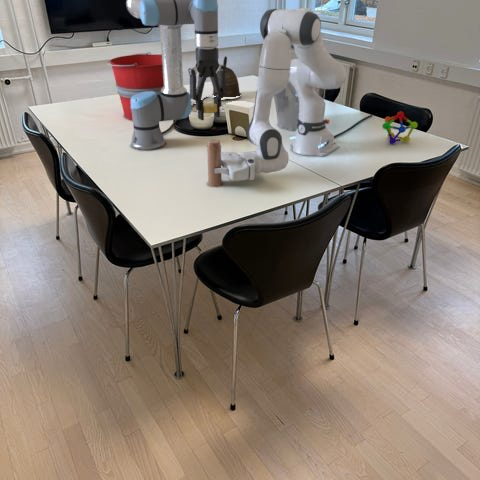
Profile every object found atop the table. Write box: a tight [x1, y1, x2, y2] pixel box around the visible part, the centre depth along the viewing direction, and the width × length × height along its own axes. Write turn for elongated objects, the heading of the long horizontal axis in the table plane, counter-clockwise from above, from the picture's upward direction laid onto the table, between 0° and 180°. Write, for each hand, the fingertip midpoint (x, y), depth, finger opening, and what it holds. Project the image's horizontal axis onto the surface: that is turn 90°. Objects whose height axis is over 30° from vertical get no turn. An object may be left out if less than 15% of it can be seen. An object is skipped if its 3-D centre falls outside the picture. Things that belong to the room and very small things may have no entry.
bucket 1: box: [106, 51, 164, 121], centre depth 240 cm, size 35×35×30 cm
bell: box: [212, 56, 242, 97], centre depth 278 cm, size 19×26×20 cm
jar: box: [206, 138, 223, 187], centre depth 166 cm, size 5×5×17 cm
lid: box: [203, 102, 217, 114], centre depth 155 cm, size 6×6×2 cm
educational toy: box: [382, 110, 418, 145], centre depth 207 cm, size 16×13×15 cm
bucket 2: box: [273, 81, 326, 131], centre depth 226 cm, size 30×30×28 cm
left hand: (209, 117), depth 157 cm, fingers closed on lid, 6 cm apart
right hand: (212, 167), depth 167 cm, fingers closed on jar, 5 cm apart
